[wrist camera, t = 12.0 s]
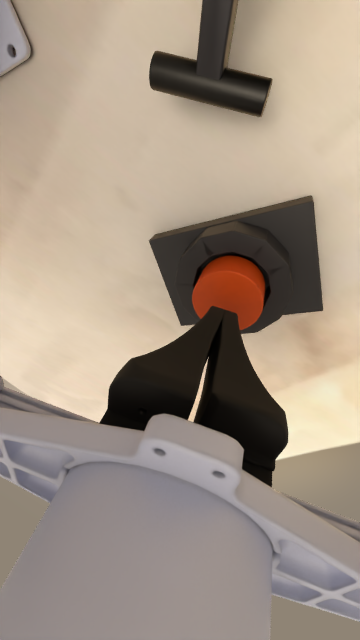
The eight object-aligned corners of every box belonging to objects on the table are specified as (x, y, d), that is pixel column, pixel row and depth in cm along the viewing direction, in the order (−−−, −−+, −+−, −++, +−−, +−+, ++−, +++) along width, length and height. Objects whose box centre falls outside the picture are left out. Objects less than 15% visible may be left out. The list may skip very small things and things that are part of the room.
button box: (184, 317, 24) (174, 340, 22) (154, 234, 21) (138, 251, 18) (321, 301, 20) (326, 327, 18) (311, 195, 17) (316, 210, 14)
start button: (209, 316, 20) (202, 334, 19) (192, 262, 18) (183, 277, 17) (270, 309, 19) (268, 328, 17) (258, 248, 17) (255, 264, 15)
